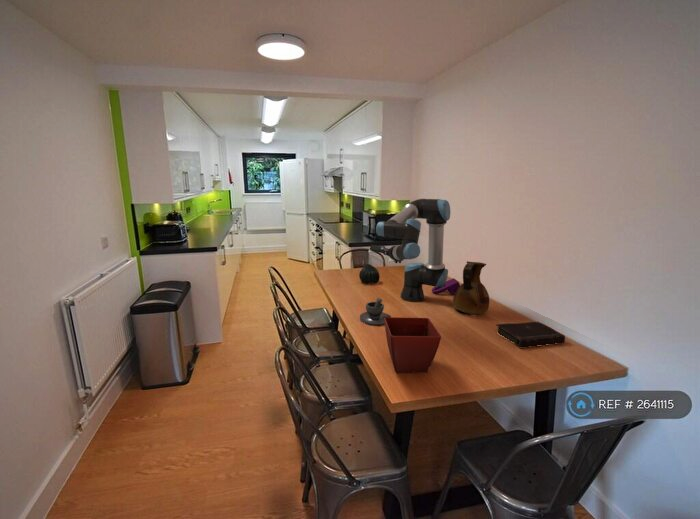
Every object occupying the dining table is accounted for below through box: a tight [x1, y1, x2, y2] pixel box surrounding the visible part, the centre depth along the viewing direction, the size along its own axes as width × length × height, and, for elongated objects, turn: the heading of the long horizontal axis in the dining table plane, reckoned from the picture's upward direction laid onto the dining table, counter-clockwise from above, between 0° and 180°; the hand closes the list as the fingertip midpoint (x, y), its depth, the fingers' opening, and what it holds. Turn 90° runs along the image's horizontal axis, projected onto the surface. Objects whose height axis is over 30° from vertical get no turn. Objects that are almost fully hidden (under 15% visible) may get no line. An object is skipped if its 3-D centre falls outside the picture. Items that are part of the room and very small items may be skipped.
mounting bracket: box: [431, 278, 461, 296], centre depth 234 cm, size 9×8×18 cm
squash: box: [358, 263, 381, 285], centre depth 254 cm, size 14×15×15 cm
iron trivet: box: [359, 311, 392, 327], centre depth 186 cm, size 17×17×2 cm
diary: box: [495, 321, 566, 348], centre depth 167 cm, size 19×25×5 cm
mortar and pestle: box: [365, 297, 385, 319], centre depth 184 cm, size 11×9×12 cm
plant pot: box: [384, 316, 442, 374], centre depth 138 cm, size 19×19×17 cm
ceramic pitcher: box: [452, 260, 490, 316], centre depth 197 cm, size 20×20×30 cm
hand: (379, 254), depth 195 cm, fingers open, 13 cm apart
